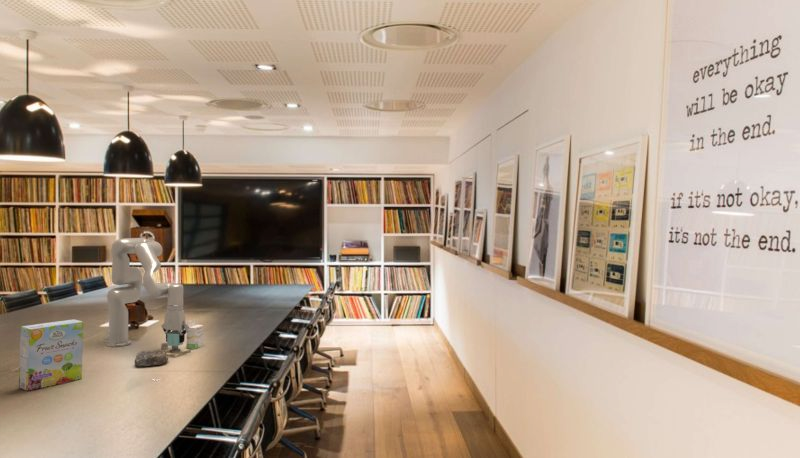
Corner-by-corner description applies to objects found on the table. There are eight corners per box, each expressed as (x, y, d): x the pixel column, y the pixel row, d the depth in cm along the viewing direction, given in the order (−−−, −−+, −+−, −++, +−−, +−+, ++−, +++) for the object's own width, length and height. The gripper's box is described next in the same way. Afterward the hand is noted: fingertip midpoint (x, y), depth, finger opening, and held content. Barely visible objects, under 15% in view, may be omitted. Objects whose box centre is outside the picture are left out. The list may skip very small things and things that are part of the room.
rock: (134, 369, 251) (169, 367, 258) (134, 355, 251) (169, 353, 257) (134, 362, 262) (167, 359, 269) (134, 348, 262) (168, 347, 269)
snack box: (28, 392, 216) (28, 328, 215) (18, 388, 220) (18, 326, 220) (83, 379, 234) (84, 320, 234) (73, 375, 239) (73, 318, 238)
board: (149, 354, 276) (149, 331, 276) (164, 349, 288) (165, 327, 288) (175, 357, 272) (175, 333, 272) (190, 351, 284) (190, 329, 283)
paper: (127, 377, 239) (127, 375, 239) (168, 373, 246) (169, 371, 246) (122, 395, 216) (122, 392, 216) (169, 390, 223) (169, 388, 223)
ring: (164, 345, 276) (164, 333, 276) (173, 342, 284) (173, 330, 283) (176, 346, 274) (176, 334, 274) (185, 343, 282) (185, 331, 282)
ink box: (194, 349, 289) (194, 322, 288) (186, 348, 290) (186, 321, 289) (203, 345, 297) (203, 319, 297) (195, 345, 298) (195, 318, 298)
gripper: (156, 308, 277) (156, 342, 278) (185, 310, 273) (184, 344, 273) (166, 305, 285) (165, 338, 285) (194, 307, 280) (194, 341, 280)
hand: (175, 341), depth 279 cm, fingers closed on ring, 7 cm apart
